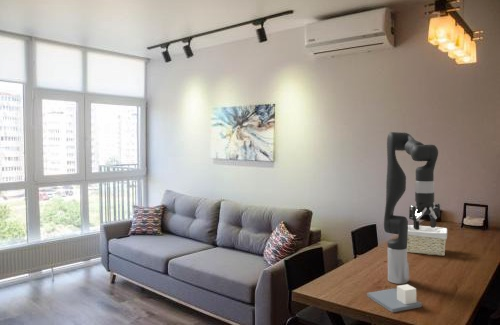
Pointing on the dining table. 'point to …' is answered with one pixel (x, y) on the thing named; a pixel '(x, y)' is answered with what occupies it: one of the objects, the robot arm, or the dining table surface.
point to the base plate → (391, 300)
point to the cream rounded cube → (406, 294)
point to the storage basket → (427, 240)
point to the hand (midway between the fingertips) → (424, 228)
